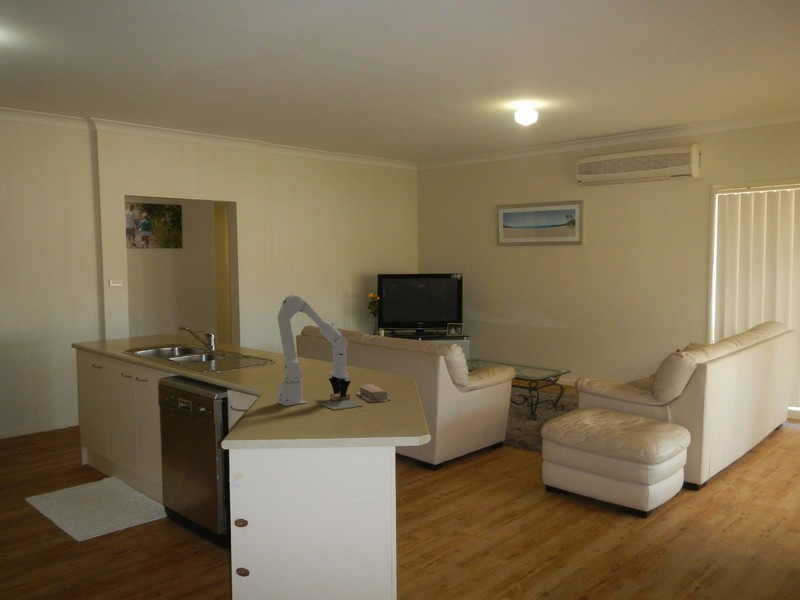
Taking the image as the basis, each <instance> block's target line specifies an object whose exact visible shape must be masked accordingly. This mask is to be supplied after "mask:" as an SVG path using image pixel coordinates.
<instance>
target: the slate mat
mask: <svg viewBox="0 0 800 600" xmlns="http://www.w3.org/2000/svg"><path fill="white" fill-rule="evenodd" d="M319 405H320V406H321V405H322V406H321V407H324V406H325V407H324V408H326V407H327V408H326V409H329V408H330V409H329V410H332V411H334V410H335V411H339V409H341V410H347V409H346V408H348V409H352V408H351V407H354V408H359V407H358V406H361V407H364V405H363V404H361V403H358V402H355V401H351V400H350V399H348V400H341V401H331V402H330V401H329V402H326V403H325V402H324V403H319Z"/></svg>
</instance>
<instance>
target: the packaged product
mask: <svg viewBox="0 0 800 600" xmlns="http://www.w3.org/2000/svg"><path fill="white" fill-rule="evenodd" d="M356 394H357V395H356ZM355 395H356V396H358V395H359V396H358V397H360V396H361V397H362V398H361V397H360V398H361V399H363V398H364V399H363V400H365V399H366V400H365V401H367V402H368V401H369V403H373V402H372V401H380V402H383V401H382V400H390V401H392V397H390V396H389V395H388V392H387V390H385V389H383V388H381V387H379V386H377V385H376V384H373V383H367V384H365V385H363V386H360V387H359V391H358V392H355Z"/></svg>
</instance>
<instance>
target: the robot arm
mask: <svg viewBox="0 0 800 600" xmlns="http://www.w3.org/2000/svg"><path fill="white" fill-rule="evenodd" d="M298 312H299V313H302V314H306V315H307V316H308V317H309V318H310V319H311V320H312V321H313V322H314V323H315V324H316V325H317V326H318V330H319V331H318V332H320V334H321V335H322V336H323V337H325V339H326V340H327V341H328V342H329V343H330V344H331V346H332V371H329V378H328V381H329V383H330V384H331V387H332V392H333V394H336V393H340V396H341V397H346V393H348V388H349V386H350V384H351V382H352V380H351V376H350V375H349V374H350V373H349V372H347V347H348V344H349V342H348V339H347V338H346V337H345V336H344V335H342V332H341V331H340V330H338V329H337V328H336V327H335V324H334V322H330V321H325V320H324V319H323V318H322V317H321V316H320V315H319V313H318V312H317V310H315V309H314V308H313V306H312V305H310V303H308V302H307V301H305V300H304V299H303V298H302V297H301V296H299V295H294V294H290V295H288V296H286V298H284V300H283V301H282V303H281V307H280V309H279V311H278V313H277V322H278V329H279V330H278V331H279V335H280V340H281V347H282V352H283V357H284V360H283V361H284V368H283V374H284V380H283V382H280V383H278V385H277V403H278V404H280V405H282V406H287V407H288V406H295V405H300V404H306V403H307V401H305V400H303V379H302V378H303V370H302V369H301V367H300V364H299V360H298V358H297V351H296V348H295V347H296V346H295V341H294V335H293V330H292V324H291V323H292V322H291V320H292V318H293V317H294V316H295V315H296V314H297V313H298Z"/></svg>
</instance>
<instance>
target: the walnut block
mask: <svg viewBox="0 0 800 600" xmlns="http://www.w3.org/2000/svg"><path fill="white" fill-rule="evenodd" d="M330 399H331V400H330ZM346 399H348V400H351V394H350V393H349V392H347V393H346V397H341V396H340V392H339V393H336V394H334V393H330V394H329V400H330V401H333V400H334V401H333V402H337V401H338V400H341V401H344V400H346Z"/></svg>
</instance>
